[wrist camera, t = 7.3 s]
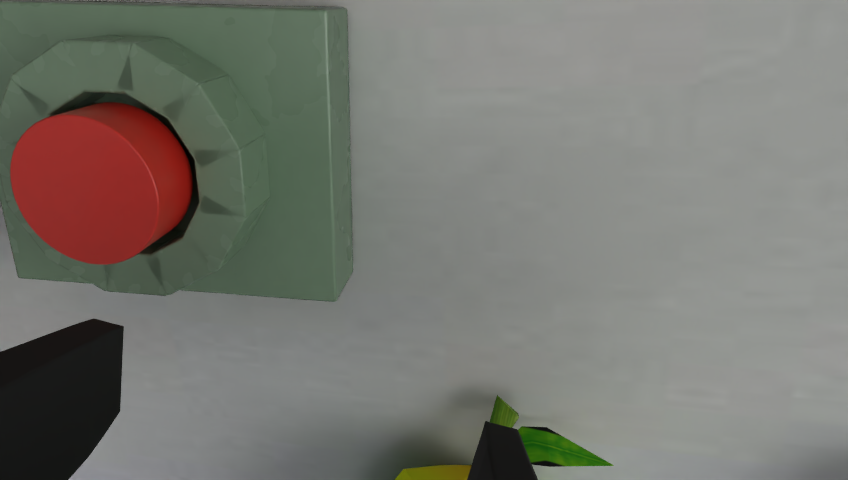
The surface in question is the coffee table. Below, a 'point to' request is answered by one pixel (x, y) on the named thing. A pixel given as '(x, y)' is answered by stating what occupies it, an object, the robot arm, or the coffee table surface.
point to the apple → (538, 444)
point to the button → (101, 181)
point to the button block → (199, 136)
